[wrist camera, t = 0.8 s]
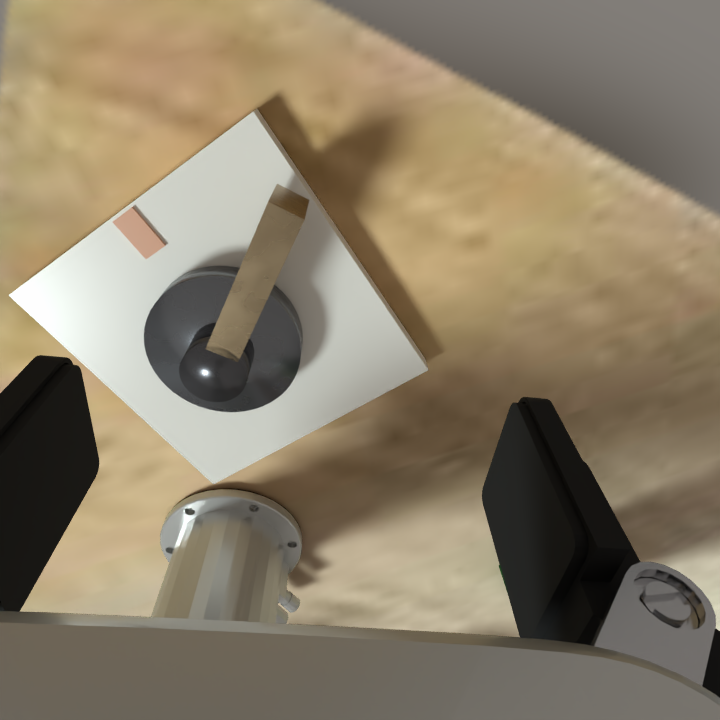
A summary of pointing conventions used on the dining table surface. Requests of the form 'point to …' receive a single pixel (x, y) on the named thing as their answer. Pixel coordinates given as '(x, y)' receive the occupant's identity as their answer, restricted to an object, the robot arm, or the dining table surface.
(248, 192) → the base plate
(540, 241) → the dining table surface
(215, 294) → the cam dial
